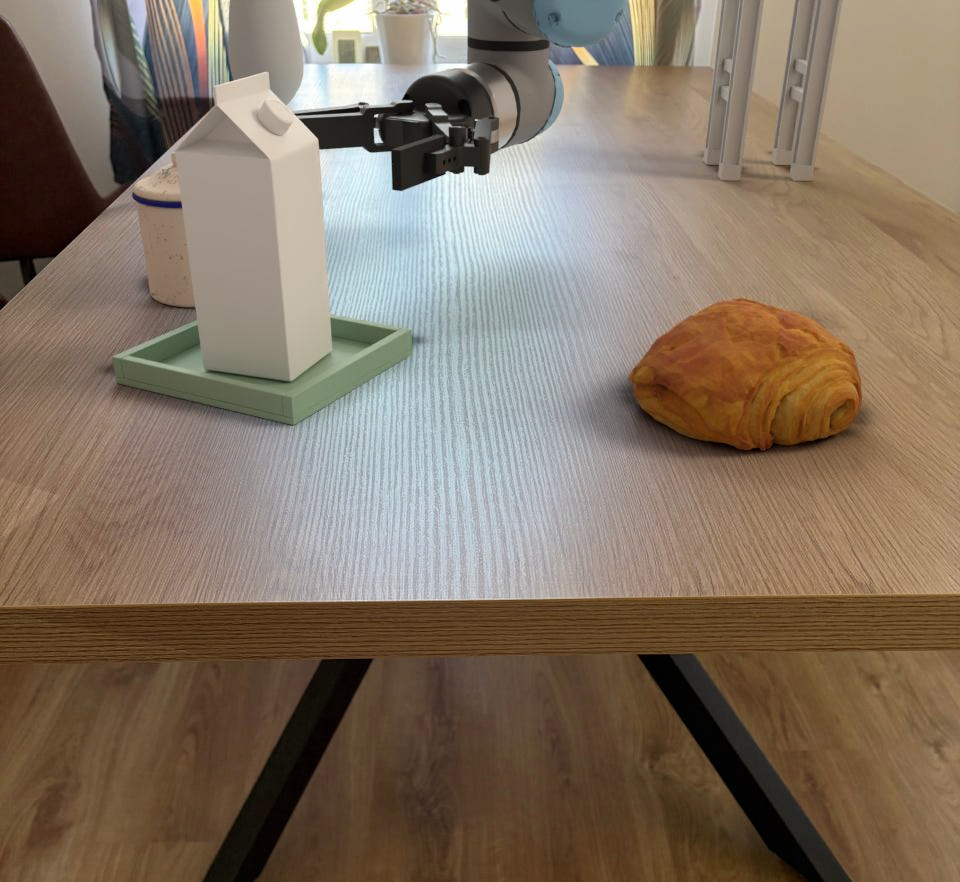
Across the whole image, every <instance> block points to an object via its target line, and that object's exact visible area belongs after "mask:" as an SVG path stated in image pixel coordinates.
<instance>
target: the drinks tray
mask: <svg viewBox="0 0 960 882" xmlns="http://www.w3.org/2000/svg"><path fill="white" fill-rule="evenodd" d="M330 323H331V338H332V351H330V352H329V353H328V354H327V355H325V356H324V357H323V358H321V359H320V360H319V361H318V362H316V363H315V364H314V365H312V366H311V367H310V368H308V369H307V370H306V371H304V372H303V373H302V374H300V375H299V376H298V377H297V378H295V379H294V380H292V381H283V380H276V379H269V378H262V377H254V376H247V375H240V374H233V373H227V372H220V371H213V370H206V369H204V368H203V361H202V354H201V346H200V338H199V331H198V323H197V319H195V320H193V321H190V322H189V323H187V324H184V325H182V326H179V327H177V328H175V329H173V330H170V331H168V332H166V333H163V334H161V335H159V336H156V337H154V338H152V339H150V340H146V341H145V342H142V343H141V344H138V345H136V346H134V347H131V348H129V349H127V350H124V351H122V352H119V353H118V354H115V355H113V356H112V357H111V359H112V364H113V370H114V377H115V381H116V384H119V385H123V386H127V387H132V388H136V389H140V390H143V391H148V392H152V393H156V394H161V395H165V396H170V397H174V398H177V399H182V400H186V401H190V402H193V403H197V404H198V403H199V404H203V405H207V406H210V407H216V408H219V409H224V410H227V411H232V412H237V413H240V414H245V415H249V416H253V417H258V418H262V419H265V420H270V421H273V422H278V423H283V424H287V425H290V426H295V425H297V424H298V423H300V422H302V421H304V420H306V419H307V418H309V417H310V416H312V415H314V414H315V413H317V412H318V411H321V410H322V409H323V408H325V407H327V406H328V405H331V404H332V403H334V402H336V401H337V400H339V399H340V398H342V397H343V396H345V395H347V394H348V393H350V392H352V391H354V390H355V389H357V388H358V387H361V386H362V385H364V384H365V383H367V382H369V381H370V380H372V379H374V378H375V377H377V376H378V375H381V374H382V373H384V372H385V371H387V370H388V369H390V368H392V367H394V366H395V365H397V364H398V363H400V362H402V361H404V360H405V359H406V358H409V357H410V356H412V355H413V335H412V332H413V331H412V329H411V328H406V327H401V326H396V325H392V324H391V325H389V324H385V323H381V322H375V321H369V320H365V319H358V318H354V317H349V316H344V315H343V316H342V315H337V314H332V313H330Z"/></svg>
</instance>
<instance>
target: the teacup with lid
mask: <svg viewBox="0 0 960 882" xmlns="http://www.w3.org/2000/svg"><path fill="white" fill-rule="evenodd" d="M170 157H171V158H170V160H171V163H169V164H165V165H163V166H162V167H160V168H159V169H157V170H156V172H155V173H153V174H152V175H150V176H146V177H143V178H142V179H140V180H138V181H136V183H135V184H134V185H133V188H132V193H131V196H132V199H133V200H134V201H135V205H136V210H137V216H138V223H139V229H140V235H141V236H140V237H141V242H142V248H143V257H144V262H145V267H146V274H147V275H146V276H147V281H148V282H147V283H148V287H149V292H150V296H151V297H152V298H153V299H154V300H155V301H157V302H159V303H161V304H164V305H168V306H172V307H179V308H195V301H194V293H193V285H192V278H191V270H190V263H189V255H188V248H187V240H186V232H185V225H184V217H183V210H182V202H181V195H180V187H179V179H178V172H177V164H176V157H175V150H173V151H172V152H171V155H170Z"/></svg>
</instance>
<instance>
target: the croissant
mask: <svg viewBox="0 0 960 882" xmlns="http://www.w3.org/2000/svg"><path fill="white" fill-rule="evenodd" d="M627 380H629V382H630V383H631V385H632V386H633V387H632V388H631V391H632V393H633V395H634V398H635V399H636V402H637V404H638V405H639V406H640V408H641V409H642V410H643V411H644V412H645V413H646V414H648V415H649V416H651V417H652V418H653V419H654V420H655V421H656V422H659V423H661V424H663V425H665V426H667V427H668V428H671V429H672V430H673V431H674V432H677V433H678V434H680V435H683V436H685V437H687V438H690V439H694V440H699V441H703V442H713V443H724V444H726V445H728V446H733V447H735V448H736V449H738V450H744V451H751V450H752V449H760V451H762V452H765V451H766V450H767V449H770V448H771V447H772V446H773V444H777V445H779V446H793V445H797V444H803V443H806V442H808V441H811V442H813V441H815V440H820V439H826V438H828V437H829V436H836V435H837V434H839V433H841V432H843V431H844V430H846V429H848V428H849V427H850V426H851V425H852V424H853V422H854V421H855V419H856V418H857V415H858V413H859V411H860V410H861V408H862V402H863V391H862V380H861V375H860V372H859V367H858V363H857V359H856V355H855V353H854V351H853V349H852V348H851V347H849V345H848V344H846V343H845V342H843V341H842V340H840V339H839V338H837V337H836V336H834V335H833V334H832V333H830V331H828V330H827V329H826V328H825V327H823V326H822V325H821V324H819V323H818V322H817V321H815V320H814V319H812V318H810V317H808V316H805V315H802V314H801V313H798V312H796V311H793V310H785V309H783V308H780V307H777V306H774V305H768V304H764V303H762V302H759V301H756V300H753V299H746V298H744V297H740V298H739V297H738V298H733V299H732V300H719V301H717V302H715V303H713V304H711V305H709V306H707V307H704V308H703V309H701V310H700V311H698V312H696V313H695V314H690V315H689V316H687V317H685V319H683V320H682V321H680V322H677V323H676V324H674V325H673V326H672V327H671V328H670V329H669V330H668V331H666V332H665V333H663V334H661V335H660V336H658V338H656V340H654V342H653V343H652V344H651V346H650V348H649V349H648V350H647V351H646V352H645V354H644V355H643V357H642V358H641V359H640V360H639V362H638V363H637V364H636V365H635V366H634V367H633V369H632V370H631V372H630V373H629V375H628V377H627Z"/></svg>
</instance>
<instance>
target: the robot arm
mask: <svg viewBox="0 0 960 882" xmlns="http://www.w3.org/2000/svg"><path fill="white" fill-rule="evenodd" d="M466 1H467V4H466V6H467V11H466V13H467V16H466V17H467V42H466V43H467V48H466V49H467V50H466V51H467V52H466V53H467V54H466V55H467V56H466V57H467V59H466V60H467V61H466V64H464V65H458V66H454V67H451V68H447V69H445V70H442V71H438V72H433V73H429V74H425V75H422V76H420V77H419V78H417V79H416V80H415V81H413V82H412V83H411V84H410V85H409V87H408V88H407V89H406V91H405V92H404V94H403V97H402V99H399V100H393V101H391V102H390V103H389V104H388V103H387V104H370V103H369V102H365V101H359V102H357V103H352V104H346V105H339V106H330V107H320V108H319V107H318V108H311V109H310V108H309V109H299V110H291V111H292V112H293V114H294V115H295V116H296V117H297V118H298V119H299V120H300V121H301V122H302V123H303V124H304V125H305V126H306V127H307V128H308V129H309V130H310V131H311V132H312V133H313V134H314V135H315V136H316V137H317V139H318V143H319V151H321V150H334V149H336V150H337V149H351V148H363V150H365V151H367V152H368V153H370V154H373V153H374V154H375V153H376V154H377V153H389V152H390V158H391V159H390V161H391V190H392V191H398V192H403V191H405V190H408V189H411V188H413V187H416V186H419V185H421V184H424V183H426V182H429V181H432V180H434V179H438V178H440V177H442V176H445V175H447V172H449V173H451V174H453V175H460V174H463V173H465V167H466V168H473V174H476V175H478V176H487V175H488V174H490V169H491V158H492V157H491V156H492V154H494V153H497V152H498V151H500V150H503V149H507V148H510V147H513V146H516V145H522V144H526V143H528V142H530V141H531V140H533V139H535V138H536V137H538V136H540V135H541V134H544V132H545V131H547V130H549V128H550V127H552V125H554V123H555V122H556V121H557V119H558V117H559V116H560V113H561V111H562V108H563V104H564V101H565V100H564V97H565V88H564V87H565V86H564V83H563V80H562V76H561V75H560V72H559V69H558V67H557V66H556V65H555V63H554V62H553V61H552V60H551V59H550V44H553V45H554V46H556V47H558V48H567V49H568V48H586V47H591V46H595V45H597V44H598V43H601V42H602V41H604V40H605V39H606V38H608V36H609V35H610V34H611V33H613V31H614V30H615V28H616V27H617V26H618V24H619V23H620V21H621V19H622V16H623V15H624V13H625V10H626V6H627V3H628V0H466ZM376 129H377V132H378V135H379V138H380V140H381V142H375V130H376Z"/></svg>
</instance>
